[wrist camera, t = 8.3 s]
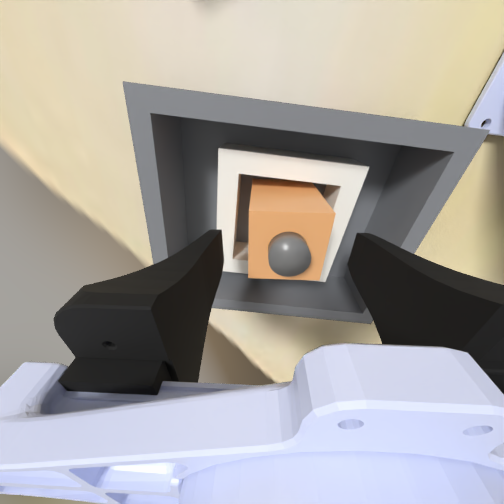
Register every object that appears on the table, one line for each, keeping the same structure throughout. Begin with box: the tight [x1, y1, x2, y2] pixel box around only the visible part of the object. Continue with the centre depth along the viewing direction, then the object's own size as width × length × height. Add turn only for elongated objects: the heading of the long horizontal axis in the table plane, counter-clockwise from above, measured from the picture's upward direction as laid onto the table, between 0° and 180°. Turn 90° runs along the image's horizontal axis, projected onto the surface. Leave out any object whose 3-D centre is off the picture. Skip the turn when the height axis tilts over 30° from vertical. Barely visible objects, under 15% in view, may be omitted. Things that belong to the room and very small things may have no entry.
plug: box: [248, 179, 336, 281], centre depth 13 cm, size 4×4×7 cm
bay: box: [123, 82, 490, 324], centre depth 15 cm, size 16×13×5 cm
